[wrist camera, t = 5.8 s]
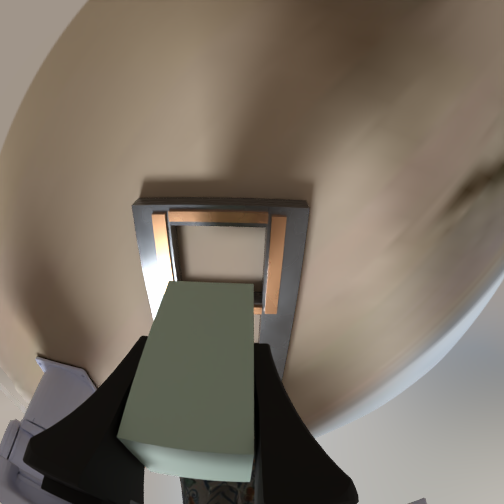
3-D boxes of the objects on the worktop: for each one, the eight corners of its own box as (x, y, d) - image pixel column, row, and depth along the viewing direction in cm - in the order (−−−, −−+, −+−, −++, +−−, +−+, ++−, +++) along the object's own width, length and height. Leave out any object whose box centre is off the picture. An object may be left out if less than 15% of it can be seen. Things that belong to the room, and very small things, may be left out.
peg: (250, 341, 15) (250, 482, 8) (179, 337, 15) (150, 471, 8) (253, 283, 13) (253, 454, 6) (169, 280, 13) (117, 437, 6)
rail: (275, 397, 27) (276, 408, 26) (180, 393, 27) (178, 403, 26) (305, 200, 16) (310, 209, 15) (138, 198, 16) (130, 206, 15)
